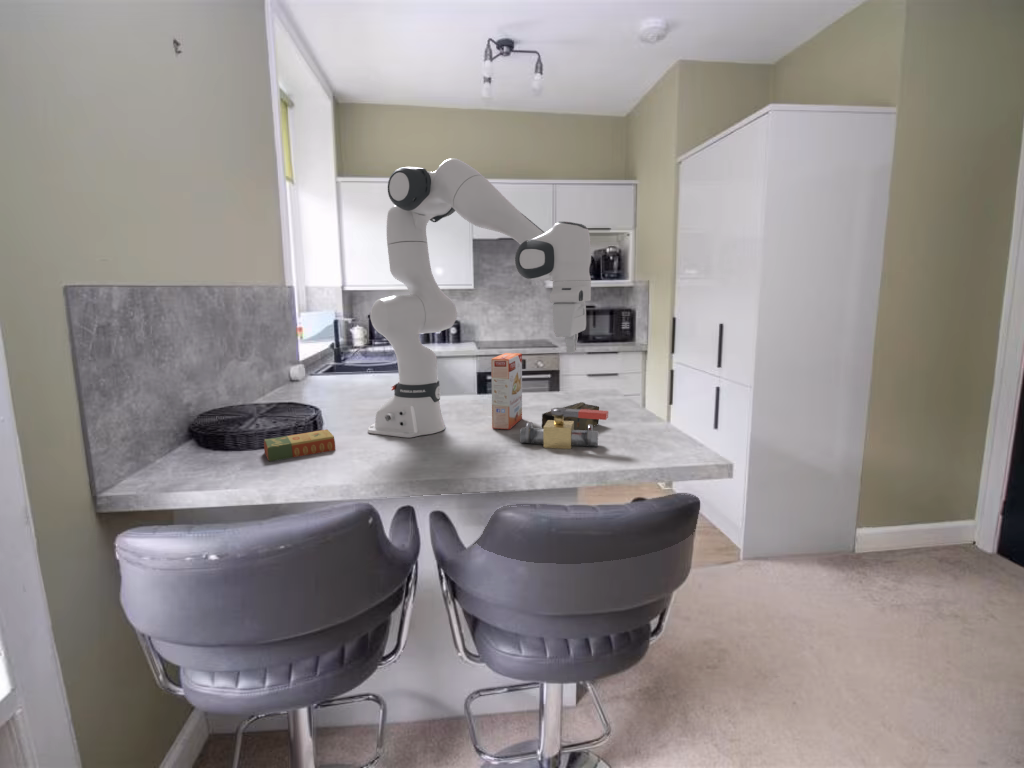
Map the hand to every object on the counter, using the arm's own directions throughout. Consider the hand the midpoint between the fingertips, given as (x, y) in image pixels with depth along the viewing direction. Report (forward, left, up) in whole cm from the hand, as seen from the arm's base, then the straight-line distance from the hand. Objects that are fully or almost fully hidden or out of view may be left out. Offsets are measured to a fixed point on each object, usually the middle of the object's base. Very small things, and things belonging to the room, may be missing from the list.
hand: (571, 352), depth 122 cm
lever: (+1, +6, -17) cm, 18 cm away
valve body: (-4, +7, -25) cm, 26 cm away
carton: (-69, -10, -26) cm, 74 cm away
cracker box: (-22, +25, -25) cm, 42 cm away
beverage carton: (-3, +22, -26) cm, 34 cm away
